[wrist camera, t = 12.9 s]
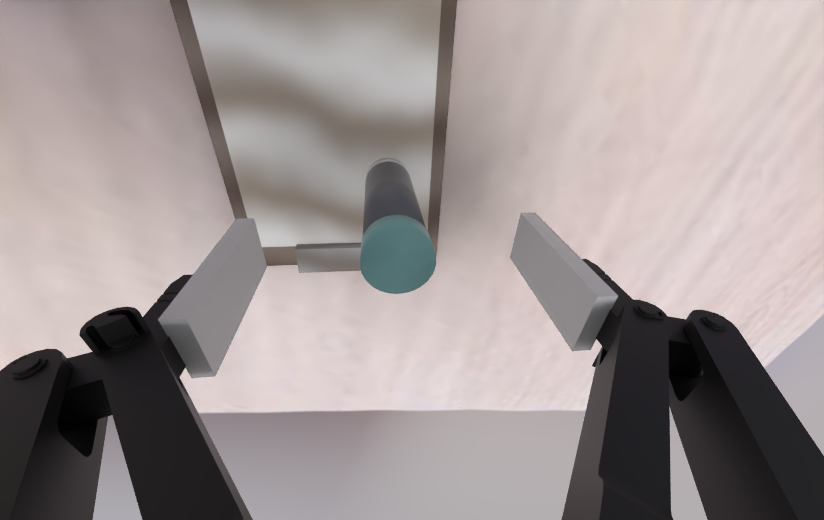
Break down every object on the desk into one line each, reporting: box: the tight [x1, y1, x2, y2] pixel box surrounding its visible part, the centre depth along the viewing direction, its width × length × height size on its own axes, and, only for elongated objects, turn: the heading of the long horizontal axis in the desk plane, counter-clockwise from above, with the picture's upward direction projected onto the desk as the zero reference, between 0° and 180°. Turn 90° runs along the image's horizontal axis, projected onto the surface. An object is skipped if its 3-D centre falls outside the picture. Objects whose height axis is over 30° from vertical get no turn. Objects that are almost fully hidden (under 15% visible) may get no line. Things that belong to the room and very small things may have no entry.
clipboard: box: [170, 0, 457, 273], centre depth 23 cm, size 24×17×2 cm
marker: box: [360, 158, 436, 294], centre depth 20 cm, size 4×4×12 cm
